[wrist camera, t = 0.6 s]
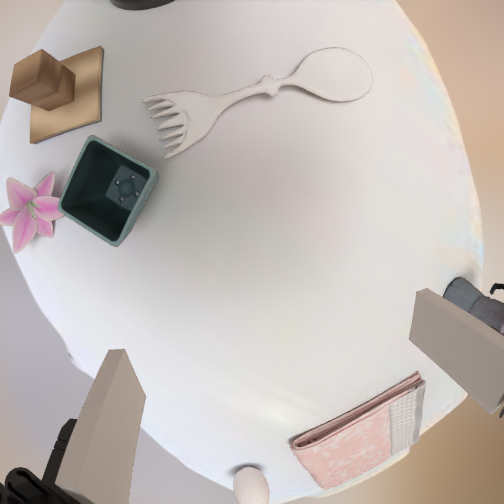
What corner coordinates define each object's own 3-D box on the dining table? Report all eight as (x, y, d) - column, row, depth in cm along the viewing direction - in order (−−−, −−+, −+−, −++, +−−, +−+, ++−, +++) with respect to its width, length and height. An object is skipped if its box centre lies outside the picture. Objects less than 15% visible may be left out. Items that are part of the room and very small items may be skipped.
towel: (413, 432, 60) (421, 443, 54) (318, 482, 58) (323, 495, 53) (417, 365, 50) (431, 378, 44) (284, 436, 48) (291, 456, 43)
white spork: (144, 105, 30) (138, 97, 26) (350, 49, 31) (360, 41, 28) (167, 163, 32) (163, 161, 29) (373, 98, 34) (385, 92, 30)
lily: (27, 246, 32) (18, 278, 25) (-5, 184, 24) (-26, 205, 18) (85, 210, 36) (85, 235, 29) (56, 143, 28) (46, 151, 22)
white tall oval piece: (224, 468, 48) (233, 528, 31) (252, 457, 48) (266, 520, 31) (242, 477, 50) (253, 532, 33) (269, 467, 50) (284, 524, 33)
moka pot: (427, 323, 46) (492, 371, 27) (457, 254, 43) (532, 286, 24) (448, 329, 48) (505, 371, 29) (475, 267, 45) (540, 297, 26)
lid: (38, 74, 24) (0, 53, 13) (102, 48, 25) (74, 13, 15) (33, 143, 27) (-13, 137, 16) (100, 120, 28) (61, 99, 18)
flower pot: (87, 202, 31) (54, 209, 23) (117, 143, 30) (89, 132, 22) (139, 233, 34) (117, 249, 25) (171, 173, 32) (157, 170, 24)
